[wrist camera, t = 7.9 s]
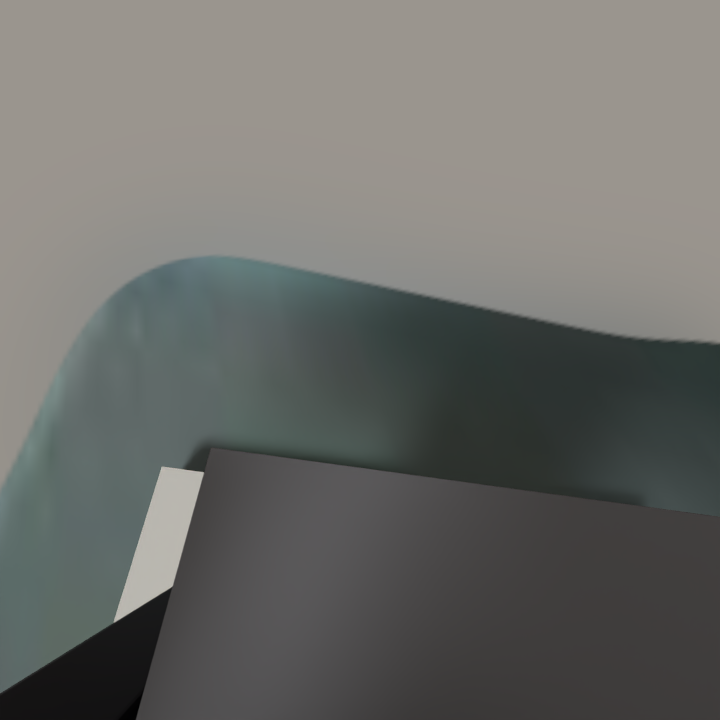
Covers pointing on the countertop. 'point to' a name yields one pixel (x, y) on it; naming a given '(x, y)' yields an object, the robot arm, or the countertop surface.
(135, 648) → the robot arm
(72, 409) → the countertop surface
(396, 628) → the chute block
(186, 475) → the white plate with inlay
